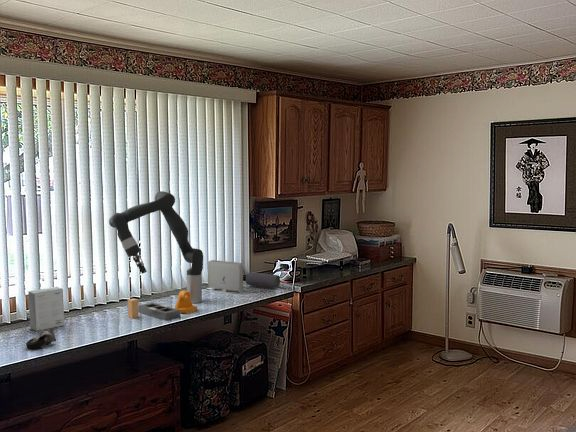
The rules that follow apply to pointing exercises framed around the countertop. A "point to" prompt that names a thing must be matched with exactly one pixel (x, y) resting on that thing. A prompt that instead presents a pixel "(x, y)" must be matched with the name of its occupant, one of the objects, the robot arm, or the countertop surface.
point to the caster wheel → (41, 340)
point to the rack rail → (159, 311)
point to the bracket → (185, 302)
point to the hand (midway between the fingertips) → (144, 272)
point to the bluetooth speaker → (263, 280)
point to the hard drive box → (46, 308)
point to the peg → (132, 308)
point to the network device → (225, 276)
